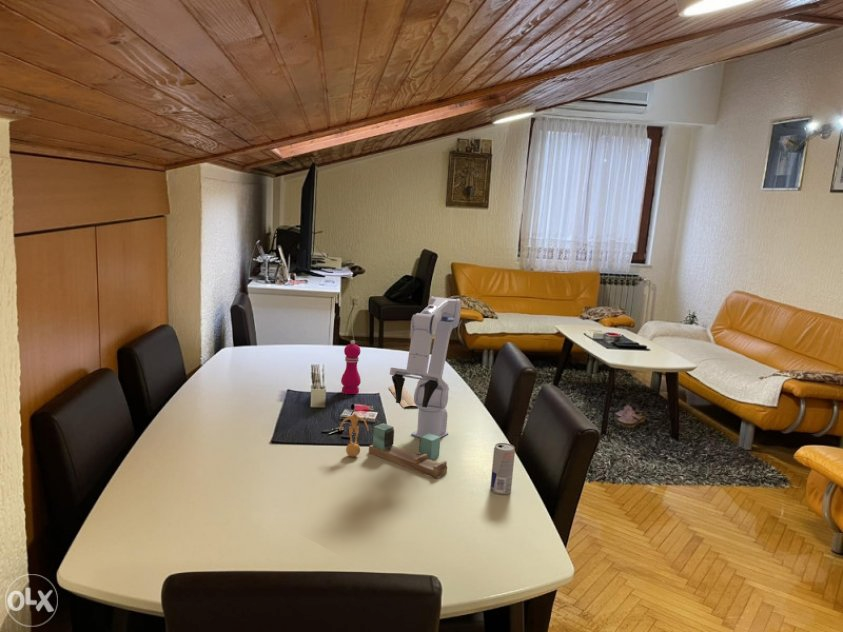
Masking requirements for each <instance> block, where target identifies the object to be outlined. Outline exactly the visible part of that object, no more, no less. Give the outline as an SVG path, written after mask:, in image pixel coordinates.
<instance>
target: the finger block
mask: <svg viewBox="0 0 843 632" xmlns="http://www.w3.org/2000/svg"><path fill="white" fill-rule="evenodd" d="M440 448H441V437H439V436H436V435H433V434H430V433H429V434H426V435H424V436H422V437H421V438H420V437H419V446H418V453H419V456H421V455H423V454H427V459H430V460H432V461H434V459H435V460H436V459H438V458H439V457H440Z"/></svg>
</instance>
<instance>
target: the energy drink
mask: <svg viewBox="0 0 843 632" xmlns="http://www.w3.org/2000/svg"><path fill="white" fill-rule="evenodd" d="M515 450H516V449H515V446H514V445H513V444H510V443H507V442H506V443H505V442H499V443H498V442H497V443H496V444H495V445H494V448H493V454H492V455H493V456H492V466H491V477H490V491H491V492H493V493H494V494H497V495H502V496H503V495H508V494H510V493H511V492H512V485H513V475H514V466H515V465H514V463H515V456H516V451H515Z"/></svg>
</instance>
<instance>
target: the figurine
mask: <svg viewBox="0 0 843 632" xmlns="http://www.w3.org/2000/svg"><path fill="white" fill-rule="evenodd" d="M348 420H350V422H351V425H349V427H348V428H349V430H348V431H349V438H350V439H349V443H348V444H347V446H346V447H345V451H346V454H347V456H348V457H350V458H351V457H352V458H354V457H357V456H359V455H360V452H361V447H360V445H359V443H358V437H359V432H360V431H359V429H360V426H359V425H357V424H358V423H359V421H362V422H364V425H365V427H366V430H367V432H369V426H368V424H367V421H366V419H364V418H362V417H361V416H358V414H356V413H353V414H352V415H350V416H348V417H346V418H344V419H343V420H342V422H341V423H340V426H339V429H338V430H339V431H340V432H341V429H342V427H343V426H344V423H345V421H348ZM353 432H354V433H355V436H354V437H355V438H354V439H355V440H354V442H353V434H352V433H353Z"/></svg>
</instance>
